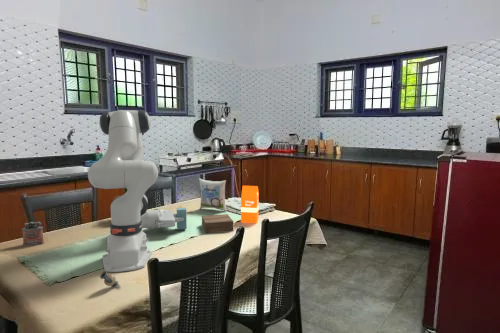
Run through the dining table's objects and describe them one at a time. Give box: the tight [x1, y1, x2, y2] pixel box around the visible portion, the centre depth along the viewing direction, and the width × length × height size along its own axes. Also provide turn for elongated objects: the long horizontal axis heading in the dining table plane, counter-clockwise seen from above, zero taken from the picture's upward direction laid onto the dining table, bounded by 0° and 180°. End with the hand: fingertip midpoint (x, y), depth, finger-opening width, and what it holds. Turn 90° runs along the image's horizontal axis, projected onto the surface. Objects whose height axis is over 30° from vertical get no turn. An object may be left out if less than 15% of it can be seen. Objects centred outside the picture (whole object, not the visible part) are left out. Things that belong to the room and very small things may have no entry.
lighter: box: [21, 221, 45, 247], centre depth 147 cm, size 8×3×10 cm, turn 105°
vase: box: [99, 271, 122, 290], centre depth 108 cm, size 5×5×6 cm
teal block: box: [176, 207, 188, 231], centre depth 169 cm, size 4×4×10 cm
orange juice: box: [240, 185, 260, 224], centre depth 185 cm, size 8×9×20 cm
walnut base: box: [201, 213, 234, 234], centre depth 173 cm, size 14×14×5 cm
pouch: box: [198, 177, 228, 212], centre depth 208 cm, size 8×19×20 cm, turn 65°
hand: (183, 217), depth 169 cm, fingers closed on teal block, 4 cm apart
